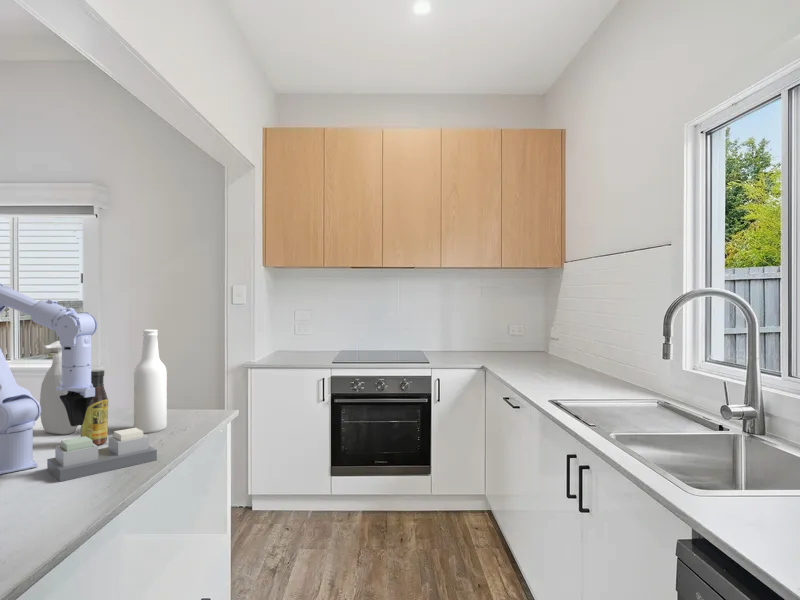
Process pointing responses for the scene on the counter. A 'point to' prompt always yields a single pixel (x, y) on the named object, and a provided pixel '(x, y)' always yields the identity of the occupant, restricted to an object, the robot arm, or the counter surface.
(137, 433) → the cream key
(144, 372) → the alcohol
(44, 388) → the soap bottle
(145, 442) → the key console
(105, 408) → the sauce bottle
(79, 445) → the sage key
